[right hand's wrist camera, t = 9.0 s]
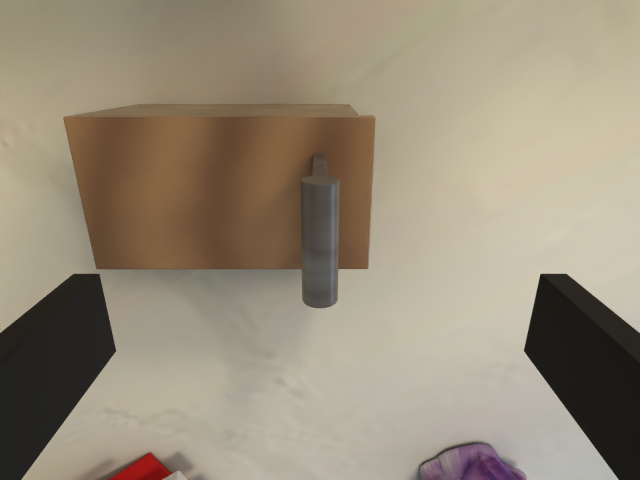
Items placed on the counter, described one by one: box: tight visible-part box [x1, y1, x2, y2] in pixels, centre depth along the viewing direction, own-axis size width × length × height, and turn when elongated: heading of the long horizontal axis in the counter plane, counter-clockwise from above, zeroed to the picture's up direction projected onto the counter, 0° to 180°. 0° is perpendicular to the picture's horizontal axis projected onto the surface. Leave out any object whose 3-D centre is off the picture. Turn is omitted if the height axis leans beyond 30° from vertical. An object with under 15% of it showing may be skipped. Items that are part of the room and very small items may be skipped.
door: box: [64, 115, 375, 308], centre depth 21 cm, size 17×9×9 cm, turn 90°
